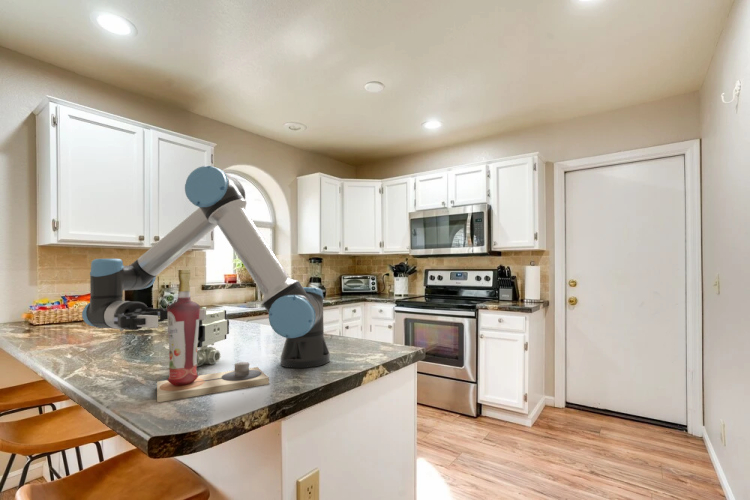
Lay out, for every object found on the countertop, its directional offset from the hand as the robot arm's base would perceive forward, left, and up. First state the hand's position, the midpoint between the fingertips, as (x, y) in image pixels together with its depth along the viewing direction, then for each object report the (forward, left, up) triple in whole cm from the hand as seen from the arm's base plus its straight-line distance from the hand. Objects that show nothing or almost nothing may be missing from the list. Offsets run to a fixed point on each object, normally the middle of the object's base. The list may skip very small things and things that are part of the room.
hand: (182, 318), depth 96 cm
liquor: (0, -1, -16) cm, 16 cm away
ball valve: (-8, -27, -18) cm, 34 cm away
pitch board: (-7, 0, -18) cm, 19 cm away
